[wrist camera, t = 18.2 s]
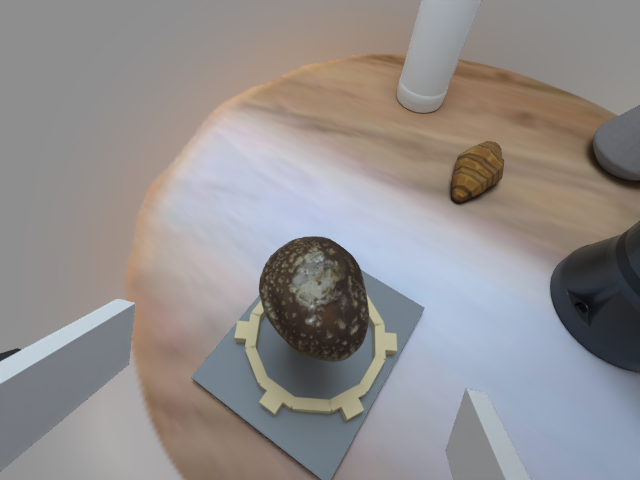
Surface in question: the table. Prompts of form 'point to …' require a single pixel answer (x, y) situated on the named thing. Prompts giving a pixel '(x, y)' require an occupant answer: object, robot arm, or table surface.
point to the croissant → (477, 171)
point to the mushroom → (316, 298)
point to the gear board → (308, 379)
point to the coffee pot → (620, 145)
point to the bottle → (435, 52)
